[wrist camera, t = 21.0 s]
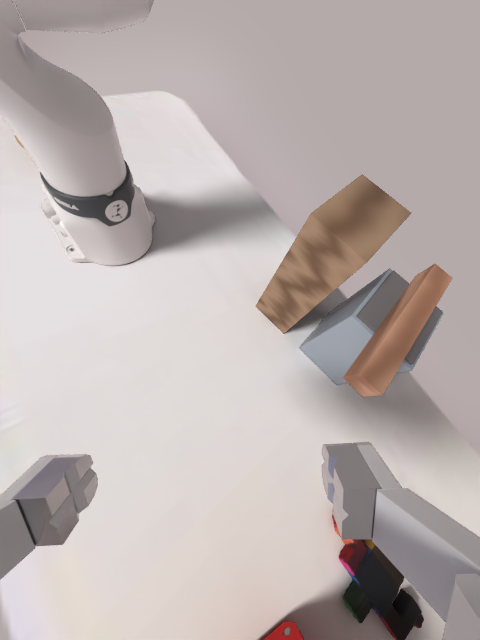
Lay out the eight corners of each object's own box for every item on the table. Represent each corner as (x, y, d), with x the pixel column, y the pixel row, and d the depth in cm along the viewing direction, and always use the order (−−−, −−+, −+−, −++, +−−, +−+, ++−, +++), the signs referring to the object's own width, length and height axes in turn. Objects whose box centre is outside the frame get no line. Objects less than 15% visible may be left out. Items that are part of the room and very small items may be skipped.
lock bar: (342, 377, 26) (359, 373, 24) (416, 275, 35) (435, 263, 32) (362, 397, 26) (382, 395, 23) (432, 288, 35) (452, 278, 32)
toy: (323, 506, 36) (334, 514, 34) (406, 489, 40) (421, 495, 37) (348, 646, 31) (363, 668, 28) (441, 612, 34) (462, 629, 32)
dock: (298, 347, 45) (353, 314, 30) (330, 311, 50) (392, 266, 35) (336, 385, 44) (415, 369, 29) (366, 344, 49) (446, 312, 33)
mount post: (255, 306, 47) (310, 213, 25) (290, 274, 52) (362, 174, 30) (283, 333, 46) (367, 262, 24) (316, 299, 51) (411, 213, 29)
